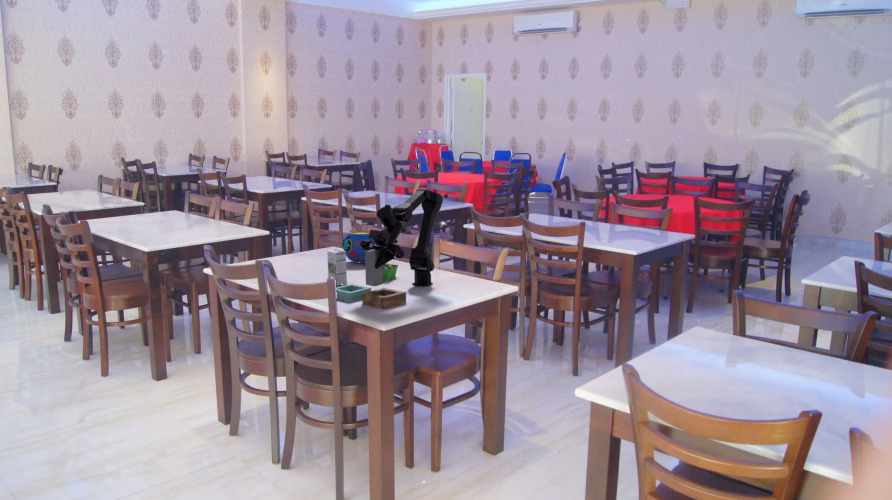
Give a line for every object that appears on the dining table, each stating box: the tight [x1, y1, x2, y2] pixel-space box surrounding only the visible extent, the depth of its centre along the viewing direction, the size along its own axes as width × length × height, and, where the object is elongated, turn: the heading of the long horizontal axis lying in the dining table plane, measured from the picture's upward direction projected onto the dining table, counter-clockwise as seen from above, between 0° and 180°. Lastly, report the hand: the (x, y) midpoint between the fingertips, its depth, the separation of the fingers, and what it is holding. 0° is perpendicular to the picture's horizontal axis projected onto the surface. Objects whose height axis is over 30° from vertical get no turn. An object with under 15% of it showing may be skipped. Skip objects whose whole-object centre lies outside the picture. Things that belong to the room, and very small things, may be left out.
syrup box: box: [326, 248, 348, 286], centre depth 287 cm, size 6×6×14 cm
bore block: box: [362, 287, 407, 310], centre depth 257 cm, size 12×12×4 cm
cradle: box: [335, 283, 372, 303], centre depth 267 cm, size 13×13×3 cm
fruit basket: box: [382, 262, 399, 282], centre depth 299 cm, size 11×9×11 cm
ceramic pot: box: [341, 229, 376, 264], centre depth 333 cm, size 18×18×15 cm
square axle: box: [364, 249, 384, 287], centre depth 258 cm, size 4×4×13 cm
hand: (371, 267), depth 257 cm, fingers closed on square axle, 4 cm apart
